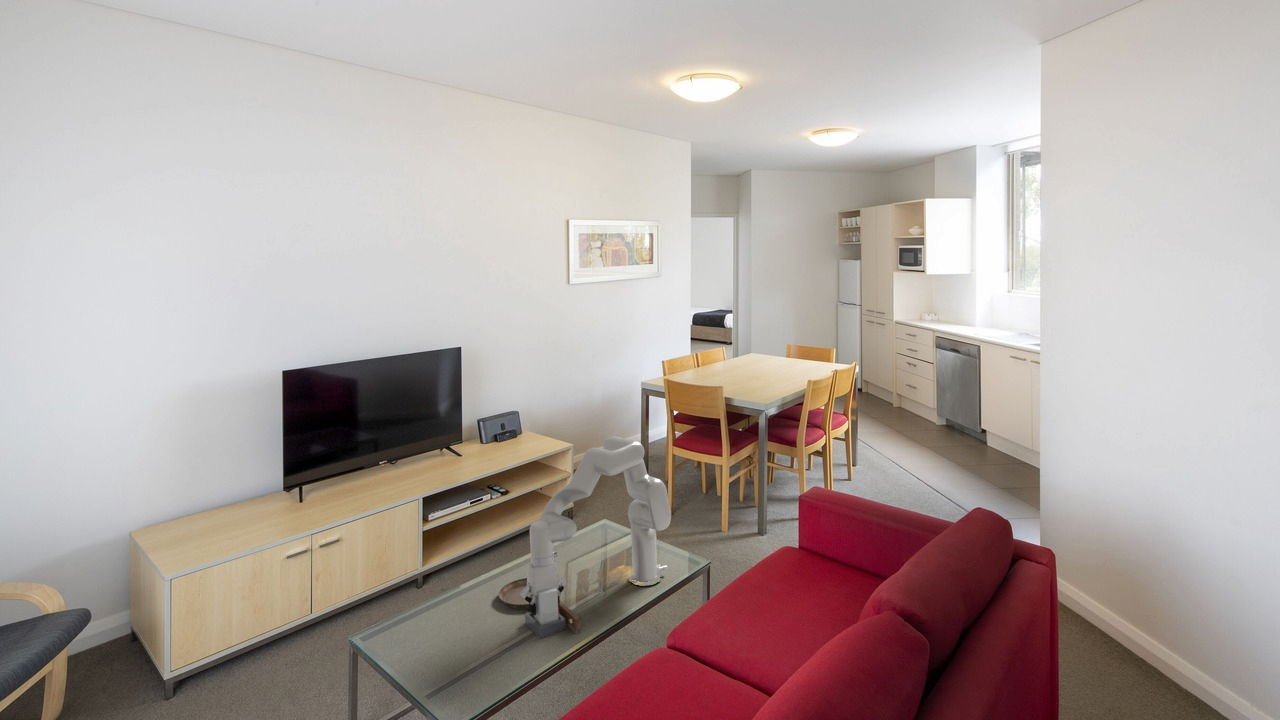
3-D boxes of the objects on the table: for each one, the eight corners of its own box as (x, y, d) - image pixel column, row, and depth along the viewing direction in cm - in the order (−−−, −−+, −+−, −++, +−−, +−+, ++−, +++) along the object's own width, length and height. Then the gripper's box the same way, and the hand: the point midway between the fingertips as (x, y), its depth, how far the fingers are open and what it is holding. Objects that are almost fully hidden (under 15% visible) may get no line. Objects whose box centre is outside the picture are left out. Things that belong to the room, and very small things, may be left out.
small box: (559, 627, 211) (557, 590, 210) (541, 632, 208) (539, 594, 207) (551, 616, 218) (549, 580, 217) (533, 621, 215) (531, 584, 214)
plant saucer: (500, 616, 221) (500, 607, 221) (497, 590, 241) (497, 581, 241) (559, 607, 226) (559, 598, 226) (552, 582, 246) (551, 573, 246)
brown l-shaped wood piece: (554, 607, 226) (553, 580, 225) (580, 631, 209) (579, 602, 208) (546, 609, 224) (545, 582, 223) (572, 634, 207) (571, 605, 206)
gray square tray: (551, 615, 220) (550, 605, 220) (566, 629, 211) (565, 619, 210) (525, 623, 215) (524, 613, 215) (539, 638, 206) (539, 628, 205)
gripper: (561, 549, 218) (563, 598, 220) (513, 562, 209) (516, 613, 211) (571, 556, 212) (573, 606, 214) (522, 570, 203) (525, 622, 205)
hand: (544, 609), depth 212 cm, fingers open, 7 cm apart
